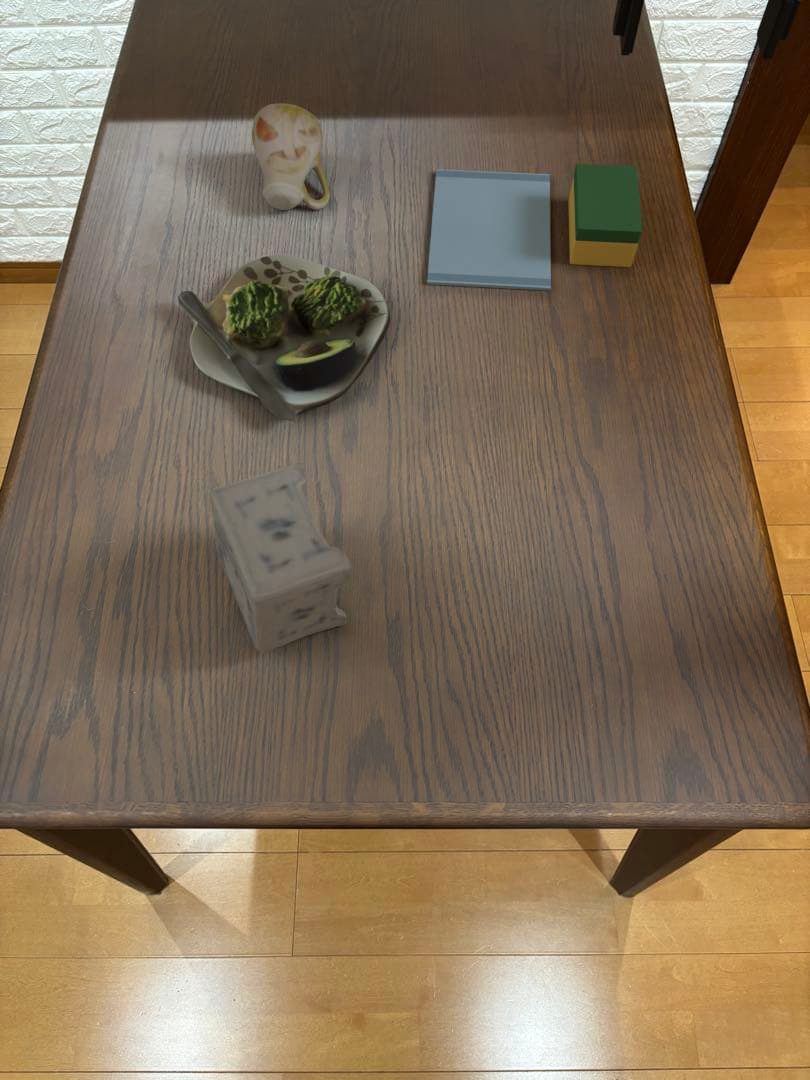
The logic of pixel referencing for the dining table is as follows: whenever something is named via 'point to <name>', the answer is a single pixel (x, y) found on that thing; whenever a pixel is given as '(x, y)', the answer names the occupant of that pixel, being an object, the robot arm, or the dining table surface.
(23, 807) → the dining table surface
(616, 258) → the scrubber
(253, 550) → the incense holder
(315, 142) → the mug
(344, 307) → the salad plate
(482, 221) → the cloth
